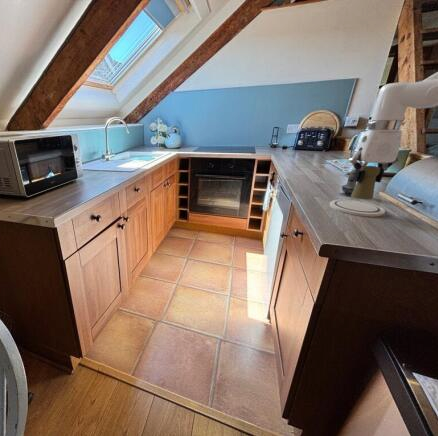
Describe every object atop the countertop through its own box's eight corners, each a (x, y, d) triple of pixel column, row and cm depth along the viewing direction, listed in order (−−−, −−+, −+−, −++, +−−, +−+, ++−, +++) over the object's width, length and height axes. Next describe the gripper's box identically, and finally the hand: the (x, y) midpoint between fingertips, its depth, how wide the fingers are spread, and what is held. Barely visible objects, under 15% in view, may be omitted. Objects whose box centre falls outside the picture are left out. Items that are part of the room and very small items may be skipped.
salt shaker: (344, 196, 104) (352, 168, 100) (336, 192, 110) (344, 166, 105) (359, 197, 103) (368, 169, 99) (351, 193, 109) (359, 166, 104)
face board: (350, 200, 100) (351, 197, 99) (396, 213, 86) (397, 210, 85) (319, 204, 96) (320, 201, 96) (361, 218, 82) (362, 215, 82)
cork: (352, 193, 91) (361, 164, 87) (373, 196, 87) (383, 165, 83) (349, 197, 87) (358, 166, 83) (371, 200, 83) (382, 168, 79)
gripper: (364, 127, 76) (347, 184, 82) (424, 126, 74) (402, 184, 81) (348, 126, 83) (333, 179, 89) (403, 125, 81) (384, 179, 88)
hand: (366, 180), depth 85 cm, fingers closed on cork, 5 cm apart
